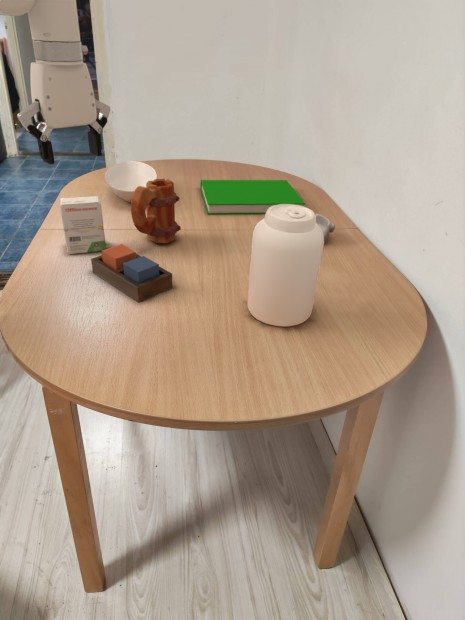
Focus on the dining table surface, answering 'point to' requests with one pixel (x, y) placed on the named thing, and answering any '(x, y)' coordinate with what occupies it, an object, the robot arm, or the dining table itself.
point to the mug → (156, 210)
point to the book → (247, 195)
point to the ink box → (82, 224)
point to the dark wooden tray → (128, 285)
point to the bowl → (128, 178)
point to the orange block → (117, 256)
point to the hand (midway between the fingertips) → (73, 158)
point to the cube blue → (141, 269)
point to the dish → (324, 225)
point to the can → (284, 265)
